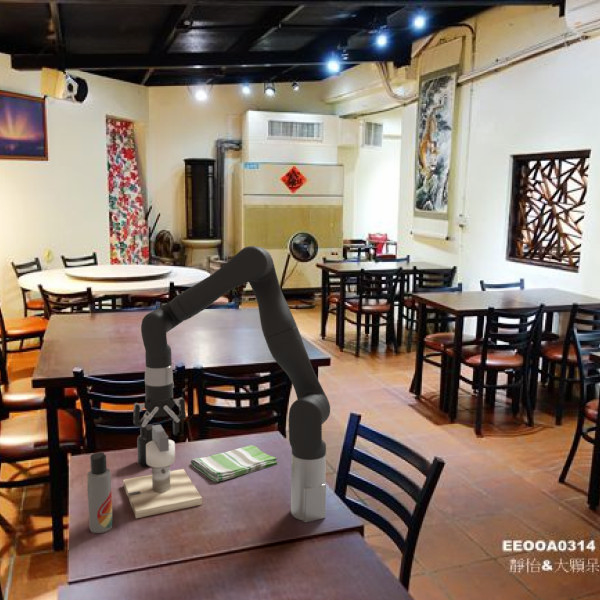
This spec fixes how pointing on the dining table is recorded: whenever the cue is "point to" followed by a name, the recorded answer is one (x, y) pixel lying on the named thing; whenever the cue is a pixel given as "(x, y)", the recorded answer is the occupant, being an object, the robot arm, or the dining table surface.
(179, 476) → the post board
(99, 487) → the lotion bottle
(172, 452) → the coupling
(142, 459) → the supplement bottle
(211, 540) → the dining table surface
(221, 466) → the dish towel
